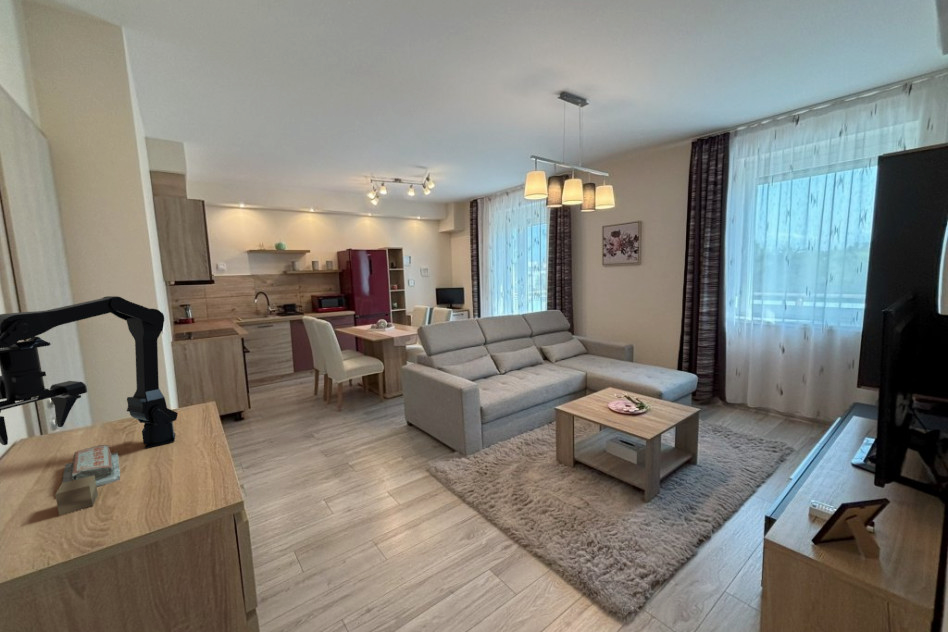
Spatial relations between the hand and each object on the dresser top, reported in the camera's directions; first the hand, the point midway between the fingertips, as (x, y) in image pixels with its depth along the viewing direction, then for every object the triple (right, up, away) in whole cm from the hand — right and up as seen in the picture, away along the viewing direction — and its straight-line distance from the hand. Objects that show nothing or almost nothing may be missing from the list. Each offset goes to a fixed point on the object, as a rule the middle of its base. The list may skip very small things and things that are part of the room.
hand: (34, 435), depth 86 cm
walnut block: (+15, -14, -4) cm, 21 cm away
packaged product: (+5, -13, +8) cm, 16 cm away
